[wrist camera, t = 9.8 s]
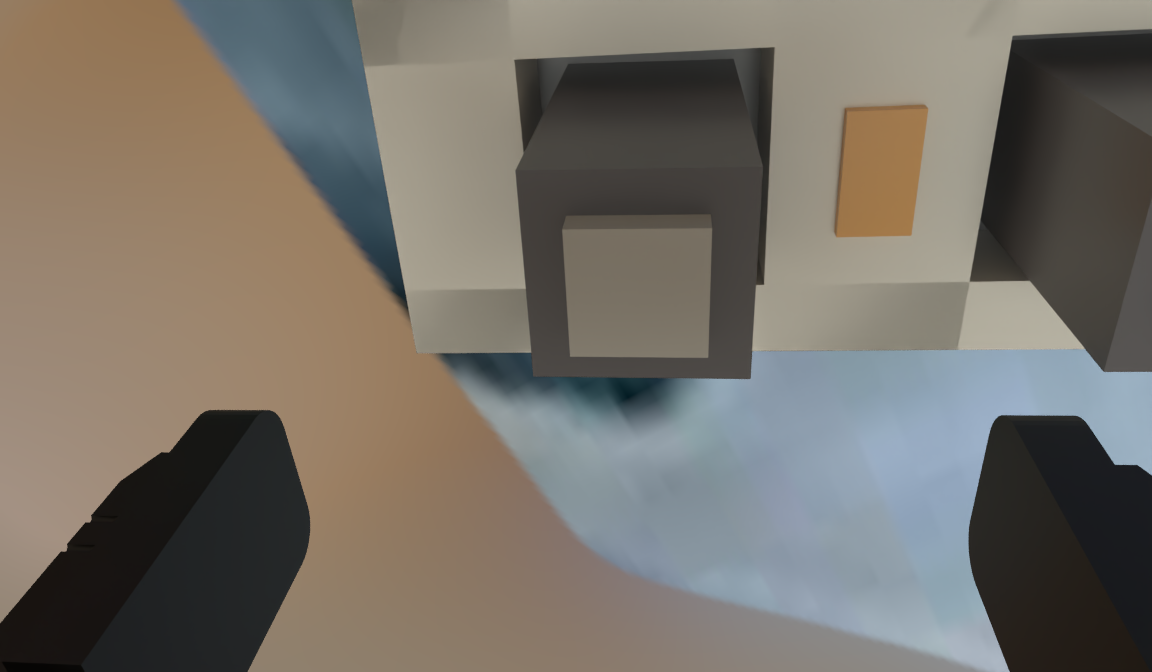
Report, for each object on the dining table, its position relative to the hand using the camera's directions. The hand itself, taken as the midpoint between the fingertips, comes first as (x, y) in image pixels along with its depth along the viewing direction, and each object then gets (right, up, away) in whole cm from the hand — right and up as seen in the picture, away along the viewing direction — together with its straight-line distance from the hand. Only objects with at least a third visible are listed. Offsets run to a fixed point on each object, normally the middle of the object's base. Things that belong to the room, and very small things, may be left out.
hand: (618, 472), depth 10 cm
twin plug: (+11, +7, +11) cm, 17 cm away
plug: (+1, +7, +12) cm, 14 cm away
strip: (+6, +7, +12) cm, 15 cm away
